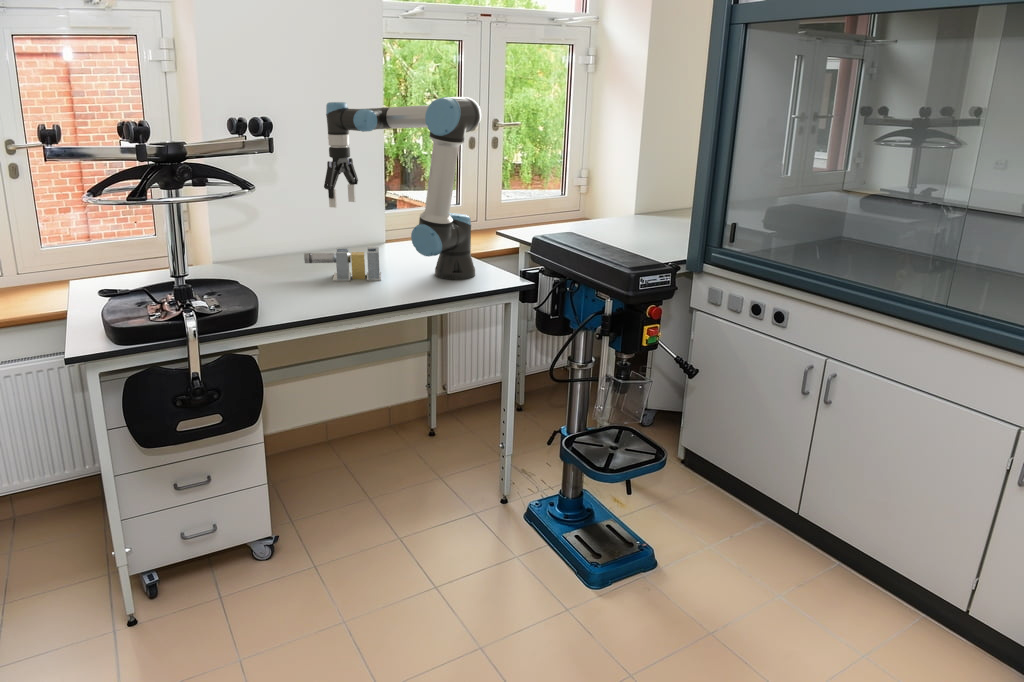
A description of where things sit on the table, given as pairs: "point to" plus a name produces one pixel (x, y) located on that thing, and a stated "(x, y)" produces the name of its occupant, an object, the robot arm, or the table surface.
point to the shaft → (322, 257)
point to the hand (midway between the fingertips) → (342, 204)
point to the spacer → (358, 265)
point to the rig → (343, 265)
